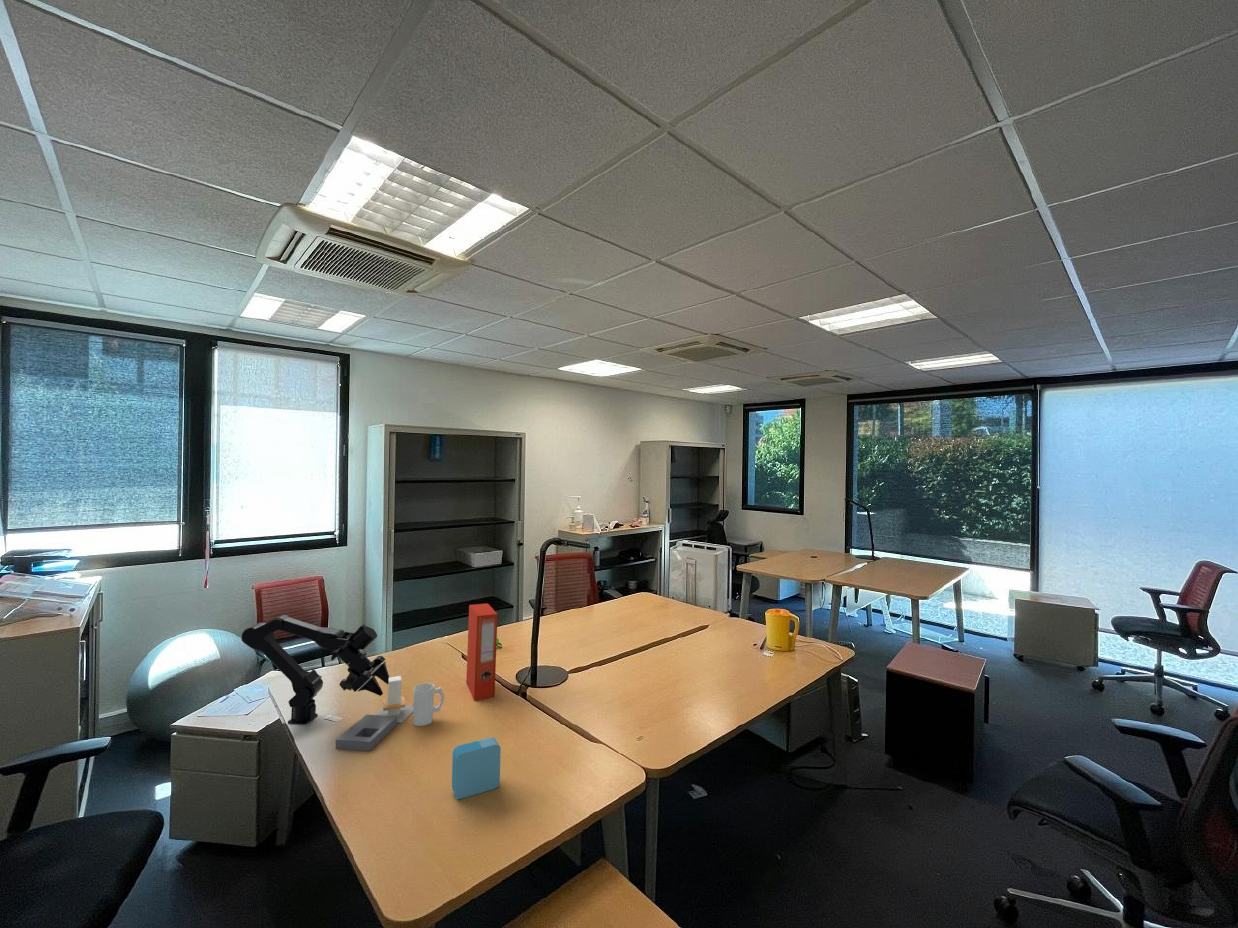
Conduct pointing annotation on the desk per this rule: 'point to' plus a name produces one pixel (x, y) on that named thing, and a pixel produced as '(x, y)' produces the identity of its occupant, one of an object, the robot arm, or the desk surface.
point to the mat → (403, 714)
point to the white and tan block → (394, 697)
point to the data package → (475, 767)
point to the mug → (425, 703)
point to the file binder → (481, 651)
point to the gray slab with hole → (366, 732)
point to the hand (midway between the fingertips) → (386, 688)
